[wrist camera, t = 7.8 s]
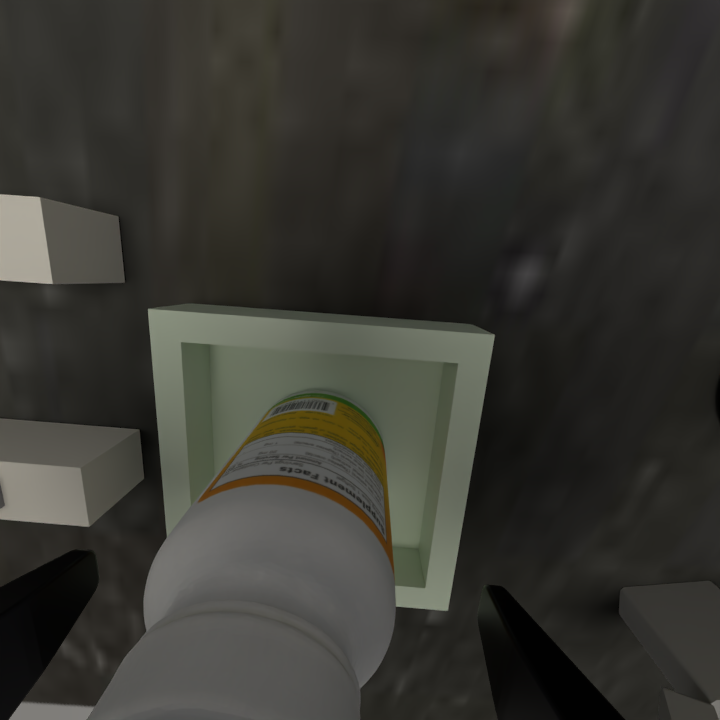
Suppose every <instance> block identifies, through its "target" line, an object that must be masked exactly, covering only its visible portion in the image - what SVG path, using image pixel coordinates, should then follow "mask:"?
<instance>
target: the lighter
mask: <svg viewBox="0 0 720 720" xmlns="http://www.w3.org/2000/svg"><path fill="white" fill-rule="evenodd" d="M619 615H620V616H621V617H622V619H623V620H624V621H625V623H626V624H627V625H628V627H629V628H630V629H631V631H632V632H633V634H634V635H635V636H636V638H637V639H638V640H639V642H640V643H641V644H642V646H643V647H644V648H645V650H646V651H647V653H648V654H649V655H650V657H651V658H652V659H653V661H654V662H655V663H656V665H657V666H658V667H659V669H660V670H661V672H662V673H663V674H664V676H665V677H666V678H667V680H668V681H669V682H670V684H671V685H672V686H673V688H674V689H675V691H673V690H670V689H668V688H665V687H662V686H661V691H660V700H659V710H658V716H659V720H720V589H719V588H718V587H717V586H716V585H715V584H713V583H712V582H711V581H697V582H684V583H671V584H658V585H645V586H632V587H624V588H622V589H621V590H620V600H619Z"/></svg>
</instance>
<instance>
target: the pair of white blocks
mask: <svg viewBox="0 0 720 720" xmlns="http://www.w3.org/2000/svg"><path fill="white" fill-rule="evenodd" d="M0 280H4V281H17V282H31V283H44V284H88V283H125V277H124V267H123V257H122V247H121V237H120V227H119V216H115V215H110V214H106V213H102V212H98V211H94V210H90V209H86V208H82V207H78V206H74V205H70V204H66V203H61V202H57V201H53V200H49V199H45V198H41V197H30V196H15V195H1V194H0ZM143 479H144V470H143V460H142V450H141V440H140V430H139V429H128V428H115V427H103V426H90V425H78V424H65V423H53V422H40V421H28V420H15V419H3V418H0V519H3V520H15V521H27V522H38V523H50V524H62V525H74V526H86V527H90V526H91V525H92V524H93V523H94V522H95V521H96V520H98V519H99V518H100V517H101V516H102V515H103V514H104V513H106V512H107V511H108V510H109V509H110V508H111V507H112V506H113V505H115V504H116V503H117V502H118V501H119V500H120V499H121V498H123V497H124V496H125V495H126V494H127V493H128V492H129V491H130V490H132V489H133V488H134V487H135V486H136V485H137V484H138V483H140V482H141V481H142V480H143Z"/></svg>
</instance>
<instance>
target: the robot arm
mask: <svg viewBox="0 0 720 720" xmlns="http://www.w3.org/2000/svg"><path fill="white" fill-rule="evenodd" d="M98 583H99V572H98V565H97V559H96V554H95V552H94V551H92V550H84V549H74V550H72V551H69V552H67V553H65V554H64V555H62V556H60V557H58V558H56V559H54V560H52V561H50V562H48V563H46V564H44V565H42V566H40V567H38V568H36V569H35V570H33V571H31V572H29V573H27V574H25V575H23V576H21V577H19V578H17V579H15V580H13V581H11V582H9V583H7V584H6V585H4V586H2V587H0V720H9V718H10V717H11V716H12V714H13V713H14V712H15V710H16V709H17V707H18V706H19V705H20V703H21V702H22V701H23V699H24V698H25V697H26V695H27V694H28V693H29V691H30V690H31V688H32V687H33V686H34V684H35V683H36V682H37V680H38V679H39V677H40V676H41V675H42V673H43V672H44V670H45V669H46V667H47V666H48V664H49V663H50V661H51V660H52V658H53V657H54V655H55V654H56V652H57V650H58V649H59V647H60V646H61V644H62V643H63V641H64V639H65V638H66V636H67V635H68V633H69V632H70V630H71V628H72V627H73V625H74V624H75V622H76V620H77V619H78V617H79V616H80V614H81V613H82V611H83V609H84V608H85V606H86V605H87V603H88V602H89V600H90V598H91V597H92V595H93V594H94V592H95V590H96V588H97V586H98ZM478 625H479V630H480V635H481V640H482V645H483V650H484V655H485V660H486V666H487V671H488V676H489V681H490V686H491V691H492V696H493V700H494V705H495V710H496V714H497V718H498V720H625V719H624V718H623V717H622V716H621V715H620V713H619V712H618V711H617V710H616V709H615V708H614V707H613V706H612V705H611V704H610V703H609V701H608V700H607V699H606V698H605V697H604V696H603V695H602V694H601V693H600V692H599V691H598V689H597V688H596V687H595V686H594V685H593V684H592V683H591V682H590V681H589V680H588V679H587V677H586V676H585V675H584V674H583V673H582V672H581V671H580V670H579V669H578V668H577V667H576V665H575V664H574V663H573V662H572V661H571V660H570V659H569V658H568V657H567V656H566V655H565V653H564V652H563V651H562V650H561V649H560V648H559V647H558V646H557V645H556V644H555V643H554V641H553V640H552V639H551V638H550V637H549V636H548V635H547V634H546V633H545V632H544V631H543V629H542V628H541V627H540V626H539V625H538V624H537V623H536V622H535V621H534V620H533V619H532V617H531V616H530V615H529V614H528V613H527V612H526V611H525V610H524V609H523V608H522V607H521V605H520V604H519V603H518V602H517V601H516V600H515V599H514V598H513V597H512V596H511V595H510V593H509V592H508V591H507V590H506V589H505V588H503V587H502V586H496V585H485V586H484V587H483V589H482V594H481V599H480V604H479V609H478Z"/></svg>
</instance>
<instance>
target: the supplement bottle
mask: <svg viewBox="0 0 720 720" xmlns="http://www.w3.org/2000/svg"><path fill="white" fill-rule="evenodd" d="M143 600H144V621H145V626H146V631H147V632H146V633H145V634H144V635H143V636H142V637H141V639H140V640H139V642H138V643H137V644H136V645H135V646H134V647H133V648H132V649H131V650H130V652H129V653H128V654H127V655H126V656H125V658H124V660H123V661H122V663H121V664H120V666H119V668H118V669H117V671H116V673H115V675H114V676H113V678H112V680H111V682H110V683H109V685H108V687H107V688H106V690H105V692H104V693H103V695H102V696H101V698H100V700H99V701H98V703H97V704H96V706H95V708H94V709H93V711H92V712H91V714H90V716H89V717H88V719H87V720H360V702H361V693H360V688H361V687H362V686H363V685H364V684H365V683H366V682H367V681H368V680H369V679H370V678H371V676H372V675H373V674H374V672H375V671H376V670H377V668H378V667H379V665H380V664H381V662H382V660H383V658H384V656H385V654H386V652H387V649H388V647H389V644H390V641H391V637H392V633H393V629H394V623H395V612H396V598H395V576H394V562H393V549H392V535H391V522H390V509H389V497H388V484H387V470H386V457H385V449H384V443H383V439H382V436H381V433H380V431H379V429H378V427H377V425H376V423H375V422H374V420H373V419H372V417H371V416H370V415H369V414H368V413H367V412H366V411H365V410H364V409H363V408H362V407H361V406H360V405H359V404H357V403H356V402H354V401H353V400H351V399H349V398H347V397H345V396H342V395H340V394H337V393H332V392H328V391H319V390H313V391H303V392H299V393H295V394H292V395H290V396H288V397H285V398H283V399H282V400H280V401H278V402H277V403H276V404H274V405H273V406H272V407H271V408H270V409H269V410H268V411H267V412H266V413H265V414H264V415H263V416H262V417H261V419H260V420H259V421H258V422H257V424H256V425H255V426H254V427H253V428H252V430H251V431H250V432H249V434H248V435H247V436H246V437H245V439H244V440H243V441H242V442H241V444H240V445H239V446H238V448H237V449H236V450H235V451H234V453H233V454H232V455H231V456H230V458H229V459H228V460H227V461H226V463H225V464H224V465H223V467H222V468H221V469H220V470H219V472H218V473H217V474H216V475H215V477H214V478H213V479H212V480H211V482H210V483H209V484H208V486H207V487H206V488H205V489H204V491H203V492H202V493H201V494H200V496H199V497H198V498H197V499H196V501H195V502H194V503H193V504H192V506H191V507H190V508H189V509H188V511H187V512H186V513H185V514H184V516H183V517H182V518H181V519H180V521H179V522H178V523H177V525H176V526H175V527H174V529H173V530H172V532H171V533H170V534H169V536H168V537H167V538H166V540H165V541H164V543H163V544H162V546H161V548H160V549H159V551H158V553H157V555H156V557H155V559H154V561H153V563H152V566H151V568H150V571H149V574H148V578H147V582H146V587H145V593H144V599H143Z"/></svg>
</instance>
